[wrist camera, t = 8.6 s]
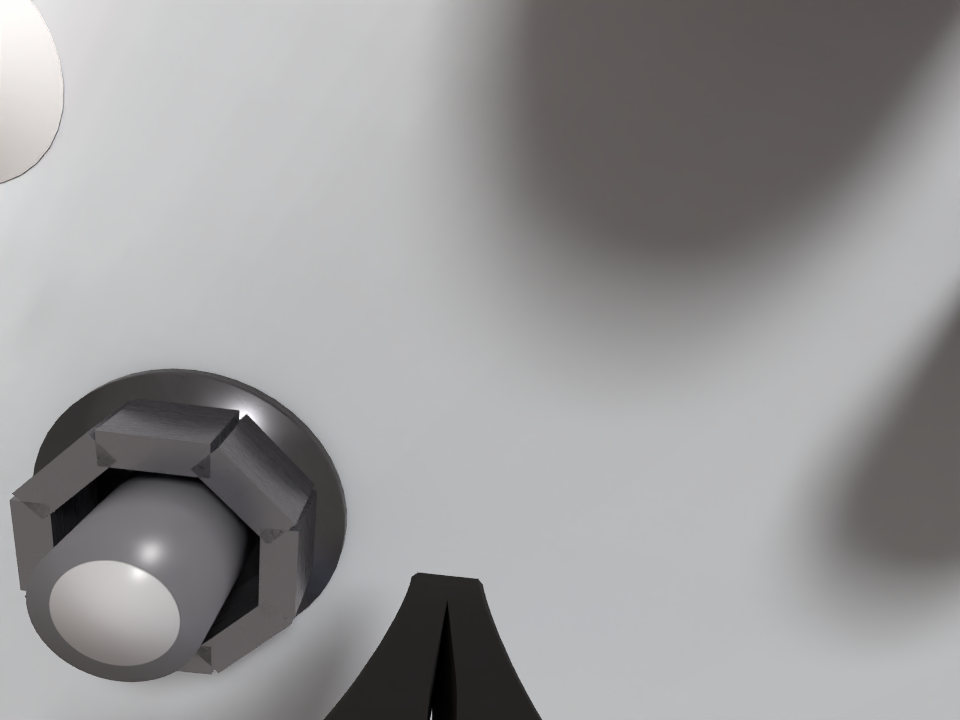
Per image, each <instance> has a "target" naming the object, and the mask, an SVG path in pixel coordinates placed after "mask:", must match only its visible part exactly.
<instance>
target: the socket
mask: <svg viewBox="0 0 960 720" xmlns="http://www.w3.org/2000/svg"><path fill="white" fill-rule="evenodd" d="M134 470H137V471H146V472H155V473H164V474H173V475H182V476H190V477H199V478H200V479H201V480H202V481H203V482H204V483H205V484H206V485H207V486H208V487H209V488H210V489H211V490H212V491H213V492H214V493H215V494H216V495H217V496H218V497H219V498H220V499H221V500H223V501H224V502H225V503H226V504H227V505H228V506H229V507H230V508H231V509H232V510H233V511H234V512H235V513H236V514H237V515H238V516H239V517H240V518H241V519H242V520H243V521H244V522H245V523H246V524H247V525H248V526H249V527H250V528H251V529H252V530H253V531H254V532H256V533H257V534H258V535H259V538H258V541H257V543H256V545H255V547H254V549H253V551H252V552H251V554H250V556H249V558H248V560H247V562H246V563H245V565H244V567H243V569H242V571H241V573H240V574H239V576H238V578H237V580H236V582H235V584H234V585H233V587H232V589H231V591H230V593H229V595H228V596H227V598H226V600H225V602H224V604H223V606H222V607H221V609H220V611H219V613H218V615H217V617H216V618H215V620H214V622H213V624H212V626H211V628H210V629H209V631H208V633H207V635H206V637H205V639H204V640H203V642H202V644H201V646H200V648H199V649H198V651H197V652H196V654H195V655H194V656H193V658H192V659H191V660H190V661H189V662H188V663H187V664H185V665H184V666H183V667H182V668H180V669H178V670H177V671H182V672H192V673H203V674H212V672H213V670H214V669H215V670H216V671H217V672H218V673H219V672H220V671H222V670H223V669H225V668H226V667H228V666H229V665H231V664H232V663H234V662H235V661H237V660H238V659H240V658H241V657H243V656H244V655H246V654H247V653H249V652H250V651H252V650H253V649H255V648H256V647H258V646H259V645H261V644H262V643H264V642H265V641H267V640H268V639H270V638H271V637H273V636H274V635H276V634H277V633H278V632H280V631H281V630H283V629H284V628H286V627H287V626H289V625H290V624H291V623H292V621H293V618H295V616H297V615H298V614H299V613H301V612H302V611H303V610H304V609H306V608H307V607H308V606H309V605H310V604H311V603H312V602H313V601H314V600H315V599H316V598H317V597H318V596H319V595H320V594H321V592H322V591H323V589H324V588H325V587H326V585H327V584H328V582H329V581H330V579H331V577H332V575H333V573H334V571H335V569H336V567H337V564H338V561H339V558H340V554H341V551H342V548H343V545H344V541H345V534H346V528H347V509H346V503H345V496H344V491H343V488H342V485H341V481H340V478H339V475H338V473H337V471H336V469H335V466H334V464H333V462H332V460H331V458H330V456H329V455H328V453H327V452H326V450H325V449H324V447H323V445H322V444H321V442H320V441H319V440H318V439H317V437H316V436H315V435H314V434H313V433H312V431H311V430H310V429H309V428H308V427H307V426H306V425H305V424H304V423H303V422H302V421H301V420H300V419H299V418H298V417H297V416H296V415H295V414H294V413H293V412H291V411H290V410H289V409H287V408H286V407H285V406H283V405H282V404H280V403H279V402H278V401H276V400H275V399H273V398H271V397H270V396H268V395H266V394H265V393H263V392H261V391H259V390H258V389H256V388H253V387H251V386H249V385H246V384H244V383H242V382H239V381H237V380H234V379H231V378H227V377H224V376H221V375H218V374H213V373H208V372H202V371H197V370H185V369H161V370H149V371H144V372H139V373H134V374H130V375H127V376H124V377H121V378H118V379H115V380H112V381H110V382H108V383H106V384H104V385H102V386H100V387H98V388H96V389H95V390H93V391H92V392H90V393H89V394H87V395H86V396H84V397H83V398H81V399H80V400H79V401H77V402H76V403H74V404H73V405H72V406H70V407H69V408H68V409H67V410H66V411H65V412H64V413H63V414H62V415H61V416H60V417H59V418H58V420H57V421H56V422H55V424H54V425H53V426H52V428H51V429H50V431H49V432H48V433H47V435H46V437H45V439H44V441H43V443H42V445H41V447H40V450H39V453H38V456H37V460H36V463H35V467H34V475H33V477H32V478H31V479H29V480H28V481H27V482H26V483H24V484H23V485H22V486H21V487H20V488H18V489H17V490H16V491H15V492H13V493H12V494H13V495H14V497H13V498H12V499H10V507H11V515H12V523H13V531H14V540H15V548H16V556H17V564H18V572H19V580H20V589H21V590H24V591H27V585H28V581H29V578H30V576H31V574H32V572H33V570H34V568H35V567H36V566H37V564H38V563H39V562H40V561H41V560H42V559H43V558H44V557H45V556H46V555H47V554H48V553H49V552H50V551H51V550H52V549H53V548H54V547H55V546H56V545H57V544H58V543H59V542H60V541H61V540H62V539H63V538H64V537H65V536H66V535H68V534H69V533H70V532H71V531H72V530H73V529H74V528H75V527H76V526H77V525H78V524H79V523H80V522H81V521H82V520H83V519H84V518H85V517H86V516H87V515H88V514H89V513H90V512H91V511H92V510H93V509H95V508H96V507H97V506H98V505H99V504H100V503H101V502H102V501H103V500H104V499H105V498H106V497H107V496H108V495H109V494H110V493H111V492H112V491H113V490H114V489H115V488H116V487H117V486H118V485H119V484H120V483H122V482H123V481H124V480H125V479H126V478H127V477H128V476H129V475H130V474H131V473H132V472H133V471H134ZM25 597H26V596H25Z"/></svg>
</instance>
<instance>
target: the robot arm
mask: <svg viewBox="0 0 960 720" xmlns="http://www.w3.org/2000/svg"><path fill="white" fill-rule="evenodd" d="M431 711H432V720H542V719H541V717H540V716H539V714H538V712H537V711H536V709H535V707H534V705H533V704H532V702H531V700H530V698H529V696H528V694H527V693H526V691H525V689H524V687H523V685H522V683H521V681H520V679H519V677H518V675H517V673H516V671H515V669H514V667H513V665H512V663H511V661H510V659H509V656H508V654H507V652H506V650H505V647H504V645H503V643H502V641H501V638H500V636H499V634H498V631H497V629H496V626H495V623H494V621H493V618H492V615H491V612H490V609H489V606H488V603H487V600H486V596H485V593H484V589H483V584H482V583H481V582H480V581H479V579H473V578H464V577H454V576H445V575H436V574H427V573H417V574H415V575H414V576H412V578H411V582H410V585H409V588H408V591H407V593H406V596H405V598H404V600H403V603H402V605H401V607H400V609H399V611H398V613H397V615H396V617H395V619H394V620H393V622H392V624H391V626H390V627H389V629H388V631H387V632H386V634H385V636H384V638H383V639H382V641H381V643H380V644H379V646H378V648H377V649H376V651H375V652H374V654H373V655H372V657H371V658H370V660H369V661H368V662H367V664H366V665H365V667H364V668H363V670H362V671H361V673H360V674H359V676H358V677H357V679H356V680H355V681H354V683H353V684H352V685H351V687H350V688H349V689H348V691H347V692H346V693H345V694H344V696H343V697H342V698H341V700H340V701H339V702H338V703H337V704H336V706H335V707H334V708H333V709H332V711H331V712H330V713H329V714H328V715H327V716H326V718H325V719H324V720H430V717H431Z"/></svg>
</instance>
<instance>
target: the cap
mask: <svg viewBox="0 0 960 720" xmlns="http://www.w3.org/2000/svg"><path fill="white" fill-rule="evenodd" d="M258 538H259V535H258V534H257V533H256V532H254V531H253V530H252V529H251V528H250V527H249V526H248V525H247V524H246V523H245V522H244V521H243V520H242V519H241V518H240V517H239V516H238V515H237V514H236V513H235V512H234V511H233V510H232V509H231V508H230V507H229V506H228V505H227V504H226V503H225V502H224V501H223V500H221V499H220V498H219V497H218V496H217V495H216V494H215V493H214V492H213V491H212V490H211V489H210V488H209V487H208V486H207V485H206V484H205V483H204V482H203V481H202V480H201V479H200V478H199V477H190V476H182V475H173V474H164V473H155V472H146V471H137V470H134V471H133V472H132V473H131V474H130V475H129V476H128V477H127V478H126V479H125V480H124V481H123V482H122V483H120V484H119V485H118V486H117V487H116V488H115V489H114V490H113V491H112V492H111V493H110V494H109V495H108V496H107V497H106V498H105V499H104V500H103V501H102V502H101V503H100V504H99V505H98V506H97V507H96V508H95V509H93V510H92V511H91V512H90V513H89V514H88V515H87V516H86V517H85V518H84V519H83V520H82V521H81V522H80V523H79V524H78V525H77V526H76V527H75V528H74V529H73V530H72V531H71V532H70V533H69V534H68V535H66V536H65V537H64V538H63V539H62V540H61V541H60V542H59V543H58V544H57V545H56V546H55V547H54V548H53V549H52V550H51V551H50V552H49V553H48V554H47V555H46V556H45V557H44V558H43V559H42V560H41V561H40V562H39V563H38V564H37V566H36V567H35V568H34V570H33V572H32V574H31V576H30V578H29V581H28V585H27V591H26V605H27V609H28V614H29V617H30V619H31V622H32V624H33V626H34V628H35V630H36V632H37V633H38V635H39V636H40V638H41V639H42V640H43V642H44V643H45V644H46V645H47V646H48V647H49V648H50V649H51V650H52V651H53V652H54V653H55V654H56V655H58V656H59V657H60V658H62V659H63V660H64V661H66V662H67V663H69V664H70V665H72V666H74V667H76V668H77V669H79V670H82V671H84V672H86V673H88V674H91V675H94V676H97V677H100V678H105V679H109V680H115V681H122V682H140V681H148V680H154V679H157V678H161V677H164V676H167V675H169V674H171V673H173V672H175V671H177V670H178V669H180V668H182V667H183V666H184V665H185V664H187V663H188V662H189V661H190V660H191V659H192V658H193V656H194V655H195V654H196V652H197V651H198V649H199V648H200V646H201V644H202V642H203V640H204V639H205V637H206V635H207V633H208V631H209V629H210V628H211V626H212V624H213V622H214V620H215V618H216V617H217V615H218V613H219V611H220V609H221V607H222V606H223V604H224V602H225V600H226V598H227V596H228V595H229V593H230V591H231V589H232V587H233V585H234V584H235V582H236V580H237V578H238V576H239V574H240V573H241V571H242V569H243V567H244V565H245V563H246V562H247V560H248V558H249V556H250V554H251V552H252V551H253V549H254V547H255V545H256V543H257V541H258Z"/></svg>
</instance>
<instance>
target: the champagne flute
mask: <svg viewBox="0 0 960 720" xmlns="http://www.w3.org/2000/svg"><path fill="white" fill-rule="evenodd" d="M63 88H64V83H63V77H62V71H61V65H60V59H59V56H58V53H57V50H56V47H55V44H54V42H53V39H52V36H51V33H50V31H49V30H48V28H47V26H46V24H45V22H44V20H43V18H42V17H41V15H40V13H39V11H38V9H37V8H36V7H35V5H34V4H33V3H32V1H31V0H0V183H1V182H5V181H7V180H9V179H12V178H14V177H16V176H19V175H21V174H22V173H24V172H25V171H26V170H28V169H29V168H30V167H32V166H33V165H34V164H36V163H37V162H38V161H39V159H40V158H41V157H42V156H43V154H44V153H45V152H46V151H47V149H48V148H49V147H50V145H51V143H52V141H53V138H54V136H55V134H56V132H57V130H58V127H59V123H60V119H61V114H62V110H63Z"/></svg>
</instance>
